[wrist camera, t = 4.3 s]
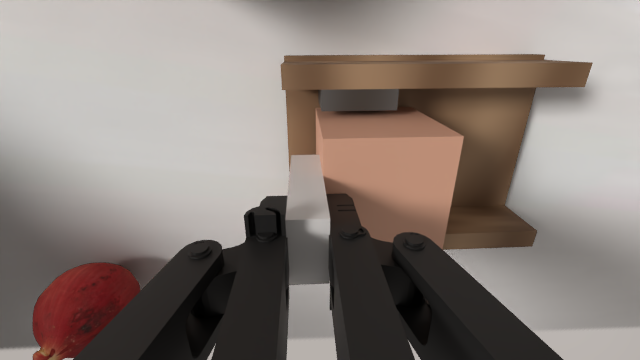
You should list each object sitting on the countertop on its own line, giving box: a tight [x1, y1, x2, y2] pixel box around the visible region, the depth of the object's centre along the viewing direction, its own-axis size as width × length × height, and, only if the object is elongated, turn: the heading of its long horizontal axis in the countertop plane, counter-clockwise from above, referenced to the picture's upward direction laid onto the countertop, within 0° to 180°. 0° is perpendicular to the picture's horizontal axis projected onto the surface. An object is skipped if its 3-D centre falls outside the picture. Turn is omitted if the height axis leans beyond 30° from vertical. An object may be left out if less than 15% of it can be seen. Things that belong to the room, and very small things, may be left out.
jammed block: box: [316, 107, 464, 250], centre depth 17 cm, size 6×6×7 cm
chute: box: [281, 54, 592, 250], centre depth 20 cm, size 16×12×4 cm
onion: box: [33, 263, 140, 360], centre depth 21 cm, size 6×6×8 cm
